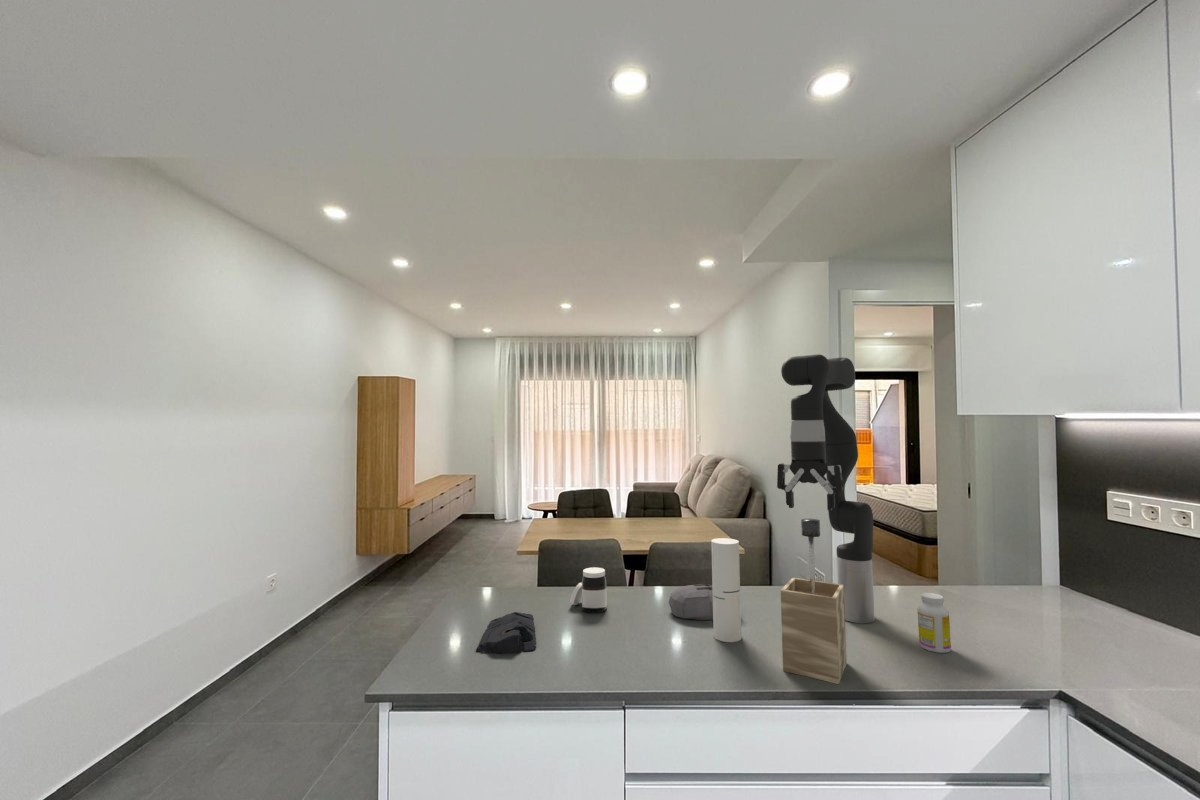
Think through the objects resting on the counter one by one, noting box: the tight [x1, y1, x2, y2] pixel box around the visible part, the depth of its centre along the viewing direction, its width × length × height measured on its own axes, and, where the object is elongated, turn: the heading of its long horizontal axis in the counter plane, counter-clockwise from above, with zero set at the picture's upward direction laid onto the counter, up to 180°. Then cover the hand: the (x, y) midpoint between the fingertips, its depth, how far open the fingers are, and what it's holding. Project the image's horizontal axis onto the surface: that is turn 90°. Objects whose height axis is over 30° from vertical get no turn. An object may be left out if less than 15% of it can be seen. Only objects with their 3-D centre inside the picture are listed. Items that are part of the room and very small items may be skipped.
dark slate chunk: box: [475, 611, 537, 655], centre depth 138 cm, size 15×22×5 cm
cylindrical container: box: [710, 537, 742, 643], centre depth 137 cm, size 7×7×25 cm
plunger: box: [800, 518, 821, 595], centre depth 120 cm, size 9×9×22 cm
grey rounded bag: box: [668, 583, 713, 621], centre depth 154 cm, size 15×8×20 cm
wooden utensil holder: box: [780, 577, 848, 685], centre depth 119 cm, size 12×12×18 cm
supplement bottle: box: [916, 592, 952, 654], centre depth 128 cm, size 7×7×13 cm
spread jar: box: [570, 566, 608, 613], centre depth 160 cm, size 12×11×12 cm
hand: (810, 508), depth 120 cm, fingers open, 8 cm apart
